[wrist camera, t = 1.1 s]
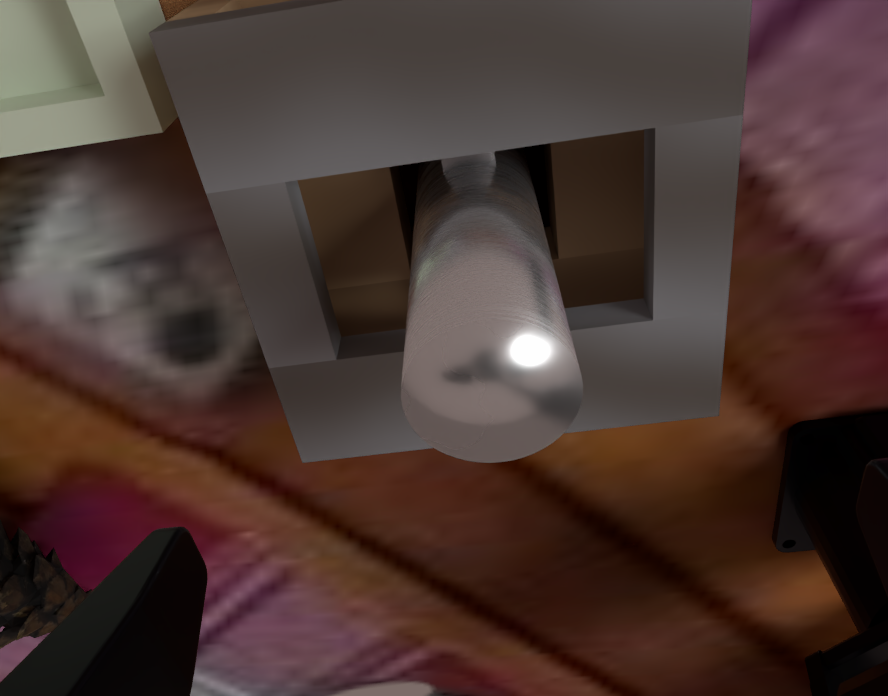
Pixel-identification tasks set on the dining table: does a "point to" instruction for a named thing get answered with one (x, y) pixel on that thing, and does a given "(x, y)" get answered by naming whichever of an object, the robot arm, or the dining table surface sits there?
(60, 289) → the dining table surface
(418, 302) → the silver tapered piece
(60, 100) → the tray
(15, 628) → the pine cone
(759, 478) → the dining table surface
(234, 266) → the block
